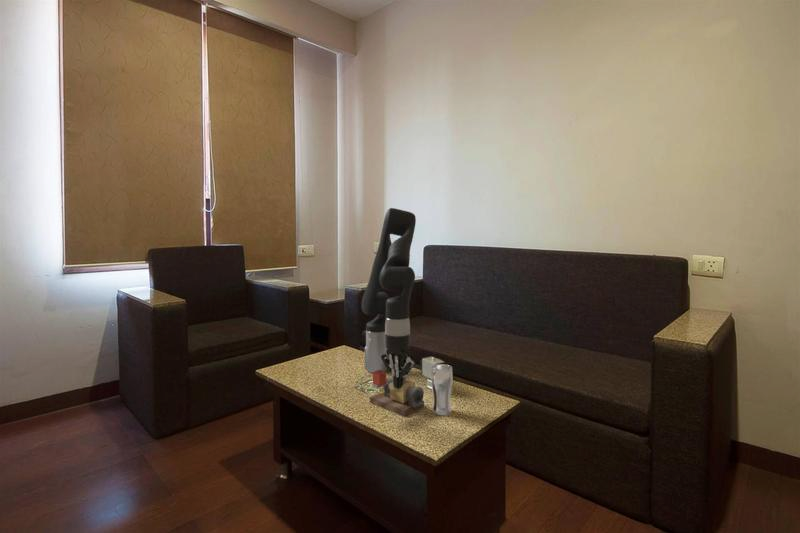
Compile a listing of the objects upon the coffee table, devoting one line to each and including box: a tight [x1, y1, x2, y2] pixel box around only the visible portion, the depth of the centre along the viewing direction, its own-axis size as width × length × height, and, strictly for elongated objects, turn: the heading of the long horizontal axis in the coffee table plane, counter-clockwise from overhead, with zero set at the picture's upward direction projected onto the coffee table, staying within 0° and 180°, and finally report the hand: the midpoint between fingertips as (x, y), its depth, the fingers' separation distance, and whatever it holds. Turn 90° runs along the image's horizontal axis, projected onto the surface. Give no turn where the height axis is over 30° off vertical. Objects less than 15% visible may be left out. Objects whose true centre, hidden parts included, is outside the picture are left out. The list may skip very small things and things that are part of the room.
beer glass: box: [430, 363, 454, 416], centre depth 140 cm, size 7×7×15 cm
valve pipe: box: [369, 376, 425, 417], centre depth 145 cm, size 17×10×10 cm, turn 47°
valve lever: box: [372, 370, 408, 389], centre depth 140 cm, size 14×3×5 cm, turn 137°
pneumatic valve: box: [419, 356, 447, 390], centre depth 160 cm, size 6×12×12 cm, turn 34°
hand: (397, 387), depth 131 cm, fingers closed
